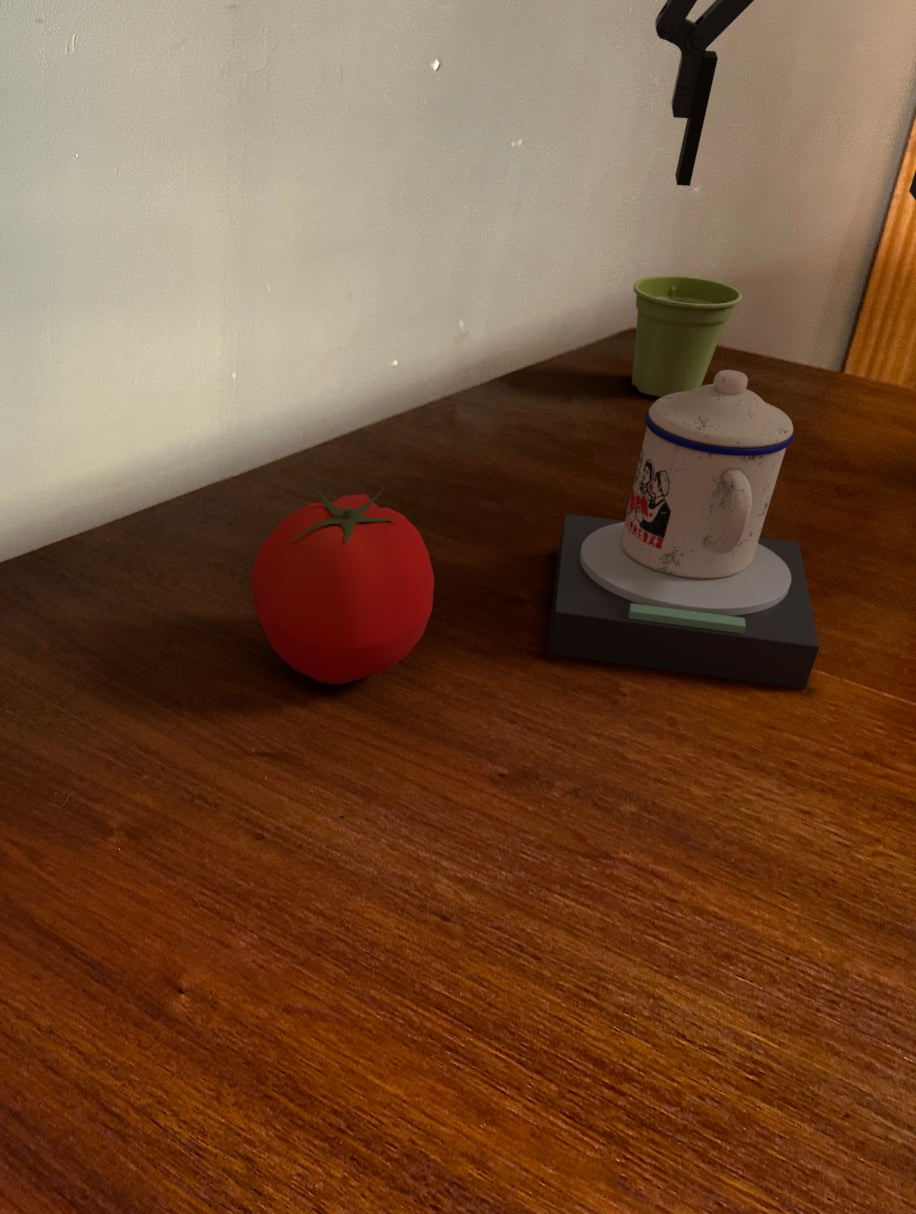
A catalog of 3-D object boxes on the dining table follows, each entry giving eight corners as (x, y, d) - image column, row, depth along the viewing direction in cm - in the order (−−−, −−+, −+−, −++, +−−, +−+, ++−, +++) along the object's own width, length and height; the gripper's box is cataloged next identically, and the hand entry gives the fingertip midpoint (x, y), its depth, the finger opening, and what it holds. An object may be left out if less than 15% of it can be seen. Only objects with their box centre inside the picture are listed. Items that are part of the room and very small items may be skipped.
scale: (785, 582, 101) (801, 533, 98) (805, 690, 89) (823, 637, 86) (557, 553, 103) (567, 505, 101) (546, 654, 91) (557, 602, 89)
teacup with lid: (602, 523, 99) (641, 348, 91) (731, 526, 99) (781, 352, 91) (645, 601, 89) (693, 414, 82) (788, 604, 90) (848, 418, 82)
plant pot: (596, 391, 131) (618, 290, 125) (634, 365, 137) (656, 268, 131) (695, 414, 127) (721, 311, 121) (729, 386, 133) (756, 287, 127)
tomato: (432, 628, 93) (455, 476, 87) (411, 724, 84) (435, 561, 77) (266, 606, 95) (276, 455, 89) (226, 698, 86) (235, 536, 79)
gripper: (671, -291, 70) (586, 187, 84) (1219, -281, 66) (1036, 218, 80) (666, -287, 76) (587, 161, 90) (1171, -278, 72) (1008, 189, 86)
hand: (799, 189), depth 85 cm, fingers open, 13 cm apart
